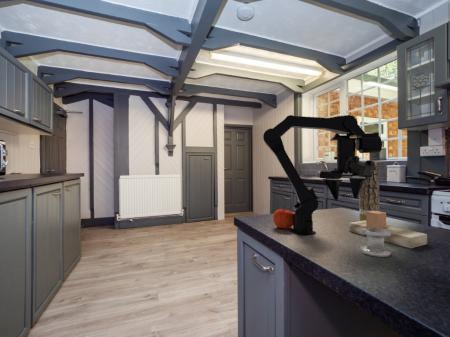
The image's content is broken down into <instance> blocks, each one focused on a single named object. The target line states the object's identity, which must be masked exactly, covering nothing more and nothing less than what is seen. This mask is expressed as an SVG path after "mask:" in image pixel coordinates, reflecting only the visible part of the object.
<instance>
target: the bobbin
mask: <svg viewBox="0 0 450 337" xmlns="http://www.w3.org/2000/svg"><path fill="white" fill-rule="evenodd" d="M361 233H362V234H365V236H366V245H361V246H360V252H361V253H362V254H364V255H367V256H371V257H375V258H389V257H391V256H392V251H391V250H390V249H389V248H386V247H385V241H384V237H390V236H391V232H390V231H389V230H386V229H381V228H374V227H364V228H361Z"/></svg>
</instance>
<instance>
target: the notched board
mask: <svg viewBox="0 0 450 337" xmlns="http://www.w3.org/2000/svg"><path fill="white" fill-rule="evenodd" d="M348 224H349V226H348V227H349V232H351V233H355V234H358V235H362V236H364V235H365V234H362V233H361V228H364V227H366V221H360V220H359V221H354V222H353V221H352V222H349V223H348ZM386 230H389V231H390V232H391V236H390V237H384V242H387V243H390V244H394V245H397V246H401V247H405V248H408V249H413V248H417V247H421V246H425V245H428V234H427V233H424V232H418V231H415V230H414V231H413V230H409V229H406V228H405V229H404V228H402V227H401V228H400V227H396V226H392V225H391V226H390V225H388V224H386ZM365 236H366V235H365Z"/></svg>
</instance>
